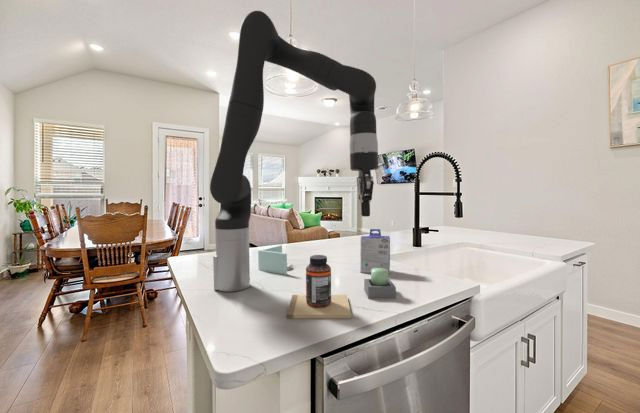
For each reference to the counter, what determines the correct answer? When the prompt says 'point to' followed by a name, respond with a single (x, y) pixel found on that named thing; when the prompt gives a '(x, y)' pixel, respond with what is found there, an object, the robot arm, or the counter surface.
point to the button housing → (379, 290)
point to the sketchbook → (319, 308)
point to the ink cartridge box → (375, 251)
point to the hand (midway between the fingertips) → (365, 216)
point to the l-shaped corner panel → (273, 260)
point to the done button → (379, 276)
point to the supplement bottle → (318, 282)
